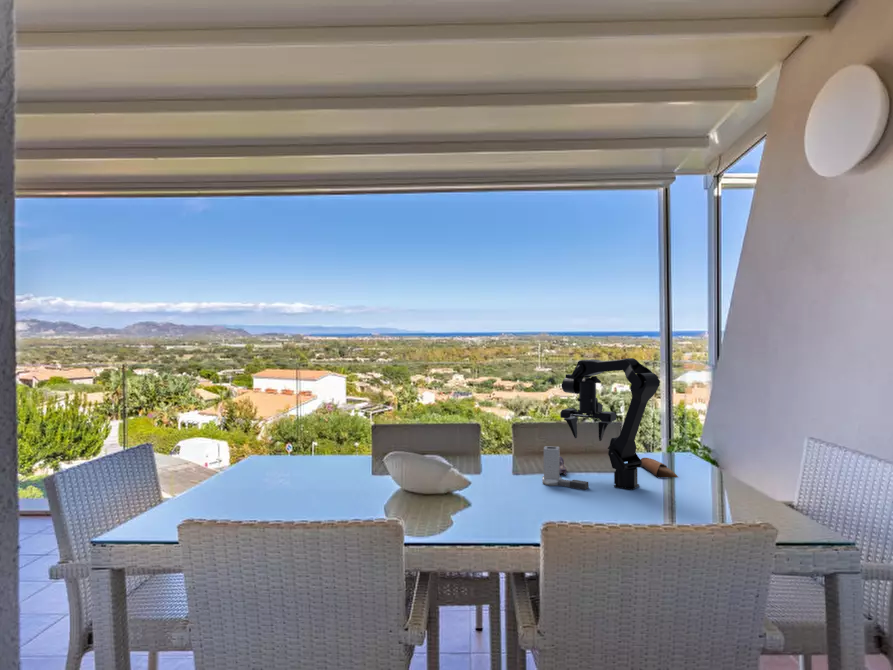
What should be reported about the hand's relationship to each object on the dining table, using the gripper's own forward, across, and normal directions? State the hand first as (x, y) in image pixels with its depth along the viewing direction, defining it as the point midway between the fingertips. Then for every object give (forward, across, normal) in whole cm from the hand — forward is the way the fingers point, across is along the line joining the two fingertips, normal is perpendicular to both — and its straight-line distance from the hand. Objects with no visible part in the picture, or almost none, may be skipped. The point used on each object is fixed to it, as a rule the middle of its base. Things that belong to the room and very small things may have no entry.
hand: (588, 439), depth 211 cm
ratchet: (+13, +1, +16) cm, 21 cm away
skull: (+13, +12, +1) cm, 18 cm away
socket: (+11, +6, +16) cm, 20 cm away
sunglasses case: (+14, -18, -20) cm, 30 cm away
